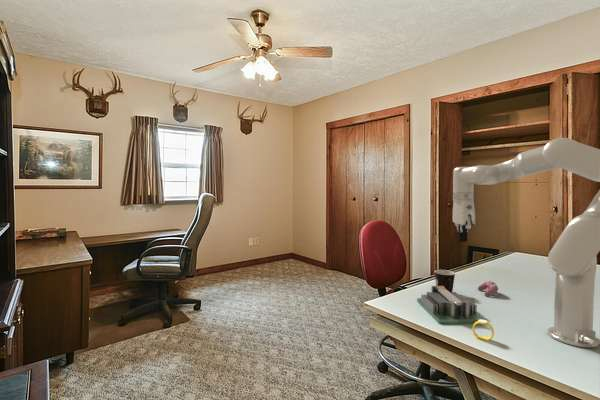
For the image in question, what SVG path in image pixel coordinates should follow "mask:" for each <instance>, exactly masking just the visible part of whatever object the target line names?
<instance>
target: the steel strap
mask: <svg viewBox="0 0 600 400" xmlns="http://www.w3.org/2000/svg"><path fill="white" fill-rule="evenodd" d="M435 286H436V285H435ZM436 290H438V291H439V292H440V293H441V294H442V295H443V296H444V297H446V298H447V299H448V300H449V301H453V302H454V303H455V306H464V303H463V302H461V301H460V300H459V299H458V298H456V297H455V296H454V295H453V294H451V293H450V292H449V291H448V290H446V288H445V287H443V286H436Z"/></svg>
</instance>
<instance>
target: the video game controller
mask: <svg viewBox="0 0 600 400" xmlns="http://www.w3.org/2000/svg"><path fill="white" fill-rule="evenodd" d="M477 290H478V291H485V292H484V296H485V297H486V298H487V297H491V296H493V295H495V294H496V293H497V292H498V291H499V287H498V286H497V283H496V282H494V281H492V280H486V281H484V282H483V283H482V284H480V285H478V287H477Z"/></svg>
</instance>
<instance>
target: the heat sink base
mask: <svg viewBox="0 0 600 400" xmlns="http://www.w3.org/2000/svg"><path fill="white" fill-rule="evenodd" d="M443 287H444V286H443ZM450 293H451V294H453V295H454V296H455V297H456V298H458V299H459V300H460V301H461V302H463V303H464V306H455V303H454V302H453V301H449V300H448V299H447V298H446V297H444V296H443V295H442V294H441V293H440V292H439V291H438V290H436V285H431V291H429V292H428V291H427V292H426V294H421V297H419V298H417V299H416V301H417V303H418V304H419V305H420V307H422V309H424V310H425V311H426V312H427V313H428V314H429V315H430V316H431V318H433V319H434V320H435V322H437V324H440V325H448V324H449V325H458V324H459V325H464V324H465V325H474V323H475V322H477V321H478V320H480V319H482V320H486V321H487V319H486V318H485V317H483V316H482V315H481V314H479V313H478V312H477V310H478V309H477V308H478V306H477V304H475V303H474V302H473V301H471V300H469V299H468V298H467V297H466V296H464V295H462V294H459V293H458V292H456V291H455V292H454V291H452V292H450ZM477 325H480V324H479V323H478V324H477Z"/></svg>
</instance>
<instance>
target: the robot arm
mask: <svg viewBox="0 0 600 400" xmlns="http://www.w3.org/2000/svg"><path fill="white" fill-rule="evenodd" d="M556 169H561V170H562V169H563V170H566V171H567V172H570V173H572V174H575V175H578V176H581V177H583V178H586V179H588V180H590V181H594V182H598V183H600V148H598V147H597V148H596V147H593V146H591V145H587V144H585V143H581V142H578V141H576V140H574V139H571V138H570V137H556V138H554V139H551V140H550V141H548V142H547V143H546V144H545V145H542V146H540V147H536V148H533V149H529V150H526V151H522V152H520V153H518V154H517V155H516V156H515V157H514V158H512V159H510V160H507V161H504V162H501V163H497V164H494V165H485V164H482V165H481V164H477V165H473V166H457V167H455V168H454V169H453V171H452V201H453V203H452V204H453V205H452V215H451V216H452V222H453V223H454V226H456V231H457V242H459V243H466V242H468V233H469V230H470V229H471V228H472V226H475V225H476V209H475V201H474V194H475V193H474V192H475V191H474V187H475V186H474V185H483V186H484V185H488V186H490V185H497V184H500V183H504V182H508V181H513V180H515V179H520V178H525V177H527V176H531V175H535V174H539V173H543V172H547V171H553V170H556ZM568 222H569V223H568V224H567V225H566V226H565V228H564V229H563V231H562V233H561V234H560V235H559V237H558V239H557V240H556V241H555V243H554V244H553V246H552V248H551V249H550V251H549V253H548V255H547V256H548V257H547V261H548V264H549V267H550V268H551V270H553V271H554V272H555V282H554V283H555V285H554V309H553V311H554V313H553V326H551V327H549V328H548V329H547V334H548V335H549V336H550V337H551V338H553V339H555V340H556V341H559V342H561V343H563V344H567V345H570V346H575V347H580V348H586V349H588V348H589V349H591V348H597V347H599V346H600V338H598V337H596V331H595V330H594V310H595V309H594V304H595V284H596V283H595V282H596V272H597V266H598V265H597V264H598V260H597V259H598V258H597V255H598V254H599V252H600V189H599V190H598V191H597V193H596V194H595V196H594V197H593V198H592V200H591V202H590V203H589V205H588V207H587V208H586V209H585V210H584V212H583V213H582V214H580V215H577V216H575V217H573V218H572V219H571V220H570V221H568Z"/></svg>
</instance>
